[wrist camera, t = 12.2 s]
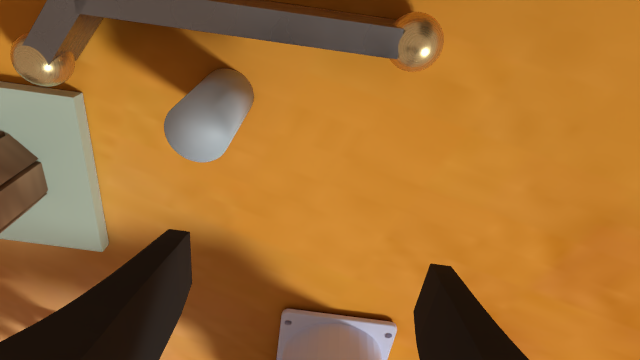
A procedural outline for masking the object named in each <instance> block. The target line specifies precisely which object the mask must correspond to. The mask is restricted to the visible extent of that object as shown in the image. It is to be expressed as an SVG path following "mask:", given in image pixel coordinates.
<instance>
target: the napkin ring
mask: <svg viewBox="0 0 640 360" xmlns="http://www.w3.org/2000/svg"><path fill="white" fill-rule="evenodd" d="M38 159H39V158H37V157H36V156H35V155H34V154H33V153H31V152H30V151H29V150H28V149H27V148H25V147H24V146H23V145H22V144H21V143H19V142H18V141H17V140H16V139H14V138H13V137H12V136H11V135H10V134H8V135H6V136H5V133H4V131H0V233H2V232H3V231H4V230H5V229H6V228H8V227H9V226H10V225H11V224H12V223H14V222H15V221H16V220H17V219H19V218H20V217H21V216H22V215H23V214H25V213H26V212H27V211H28V210H29V209H31V208H32V207H33V206H34V205H35V204H36V203H37V202H38V201H40V200H41V199H42V198H43V197H44V196H45V195H46V194H47V193H46V192H47V191H48V187H47V183H46V179H45V175H44V171H43V167H42V163H41V162H36V161H37V160H38Z"/></svg>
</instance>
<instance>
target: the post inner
mask: <svg viewBox="0 0 640 360" xmlns="http://www.w3.org/2000/svg"><path fill="white" fill-rule="evenodd" d="M253 99H254V94H253V89H252V86H251V84H250V82H249V81H248V80H247V78H246V77H245V76H244V75H242V74H241V73H239V72H238V71H236V70H233V69H228V68H221V69H217V70H215V71H213V72H211V73H210V74H209V75H208V76H207V77H206V78H205V79H203V80H202V81H201V82H200V83H199V84H198V85H197V86H196V87H195V88H194V89H193V90H192V91H190V92H189V93H188V94H187V95H186V96H185V97H184V98H183V99H182V100H181V101H180V102H178V103H177V104H176V105H175V106H174V107H173V108H172V109H171V110H170V111H169V113H168V114H167V116H166V119H165V123H164V131H165V135H166V138H167V140H168V142H169V144H170V145H171V147H172V148H173V149H174V150H175V151H176V152H177V153H178V154H180V155H181V156H183V157H184V158H186V159H189V160H192V161H196V162H209V161H213V160H215V159H217V158H219V157H220V156H221V155H223V153H224V152H225V151H226V149H227V147H228V146H229V144H230V142H231V141H232V139H233V137H234V135H235V134H236V132H237V130H238V129H239V127H240V125H241V124H242V122H243V120H244V118H245V117H246V115H247V113H248V112H249V110H250V108H251V106H252V104H253Z"/></svg>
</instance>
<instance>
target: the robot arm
mask: <svg viewBox="0 0 640 360" xmlns="http://www.w3.org/2000/svg"><path fill="white" fill-rule="evenodd" d="M191 284H192V271H191V249H190V232H187V231H179V230H172V229H169V230H167V231H166V232H165V233H163V234H162V235H161V236H159V237H158V238H157V239H156V240H155V241H153V242H152V243H151V244H150V245H148V246H147V247H146V248H145V249H143V250H142V251H141V252H140V253H138V254H137V255H136V256H135V257H133V258H132V259H131V260H129V261H128V262H127V263H126V264H124V265H123V266H122V267H120V268H119V269H118V270H116V271H115V272H114V273H112V274H111V275H110V276H108V277H107V278H106V279H104V280H103V281H101V282H100V283H98V284H97V285H96V286H94V287H93V288H91V289H90V290H88V291H87V292H86V293H84V294H83V295H81V296H80V297H78V298H77V299H75V300H74V301H72V302H71V303H69V304H67V305H66V306H64V307H63V308H61V309H59V310H58V311H56V312H54V313H53V314H51V315H49V316H48V317H46V318H44V319H43V320H41V321H39V322H37V323H35V324H34V325H32V326H30V327H28V328H26V329H24V330H22V331H20V332H18V333H17V334H15V335H13V336H11V337H9V338H7V339H5V340H3V341H1V342H0V360H159V359H160V357H161V355H162V353H163V351H164V349H165V347H166V345H167V343H168V340H169V338H170V336H171V334H172V332H173V330H174V328H175V326H176V324H177V322H178V320H179V318H180V316H181V313H182V310H183V308H184V305H185V302H186V299H187V296H188V293H189V290H190V287H191ZM287 320H289V321H287ZM414 323H415V334H416V343H417V348H418V353H419V358H420V360H529V359H528V358H527V357H526V356H525V355H524V354H523V353H522V352H521V351H520V349H519V348H518V347H517V346H516V345H515V344H514V343H513V342H512V341H511V340H510V339H509V337H508V336H507V335H506V334H505V333H504V332H503V331H502V329H501V328H500V327H499V326H498V325H497V324H496V322H495V321H494V320H493V319H492V318H491V316H490V315H489V314H488V313H487V312H486V310H485V309H484V308H483V307H482V305H481V304H480V303H479V302H478V300H477V299H476V298H475V297H474V295H473V294H472V293H471V291H470V290H469V289H468V288H467V286H466V285H465V284H464V282H463V281H462V280H461V279H460V277H459V276H458V275H457V273H456V272H455V271H454V270H453V269H452V267H451V266H445V265H437V264H430V266H429V269H428V272H427V275H426V278H425V281H424V283H423V286H422V289H421V292H420V295H419V297H418V300H417V303H416V306H415V309H414ZM396 332H397V327H396V324H395V323H393V322H390V321H382V320H374V319H366V318H358V317H351V316H343V315H335V314H327V313H319V312H312V311H304V310H296V309H285V310H284V311H283V312H282V316H281V325H280V333H279V342H278V351H277V359H276V360H387V359H388V356H389V353H390V350H391V347H392V344H393V341H394V338H395V335H396Z"/></svg>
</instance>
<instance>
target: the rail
mask: <svg viewBox="0 0 640 360" xmlns="http://www.w3.org/2000/svg"><path fill="white" fill-rule="evenodd" d="M104 17H105V18H112V19H119V20H126V21H133V22H140V23H147V24H154V25H161V26H168V27H175V28H182V29H189V30H196V31H203V32H210V33H217V34H224V35H231V36H238V37H245V38H252V39H259V40H266V41H272V42H279V43H286V44H293V45H300V46H307V47H314V48H321V49H328V50H335V51H342V52H349V53H356V54H363V55H370V56H377V57H384V58H389V59H390V60H391V62H392V63H393V64H394V65H395V66H397V67H398V68H400V69H402V70H404V71H409V72H416V71H421V70H424V69H426V68H428V67H429V66H431V65H432V64H433V63H434V62H435V61H436V60H437V58H438V57H439V55H440V53H441V51H442V48H443V43H444V37H443V31H442V28H441V26H440V25H439V23H438V22H437V21H436V20H435V19H434V18H433V17H432V16H430V15H428V14H426V13H422V12H412V13H408V14H405V15H403V16H401V17H400V18H398V19H397V20H396V19H389V18H382V17H375V16H368V15H361V14H354V13H348V12H341V11H334V10H327V9H320V8H313V7H306V6H300V5H293V4H286V3H279V2H272V1H265V0H47V2H46V3H45V5H44V7H43V9H42V11H41V12H40V14H39V16H38V18H37V20H36V21H35V23H34V25H33V27H32V29H31V30H30V32H28V33H25V34H23V35H21V36H20V37H18V38H17V39H16V40H15V42H14V43H13V45H12V47H11V53H10V56H11V61H12V64H13V66H14V68H15V70H16V71H17V72H18V73H19V74H20V75H21V76H22V77H23V78H24V79H25V80H27V81H29V82H31V83H33V84H36V85H39V86H47V87H49V86H57V85H59V84H62V83H64V82H65V81H67V80H68V79H69V78H70V77H71V75H72V73H73V71H74V67H75V61H76V60H77V59H78V57H79V55H80V54H81V52H82V51H83V49H84V48H85V46H86V45H87V43H88V41H89V40H90V38H91V37H92V35H93V34H94V32H95V30H96V29H97V27H98V26H99V24H100V23H101V21H102V20H103V18H104Z"/></svg>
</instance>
